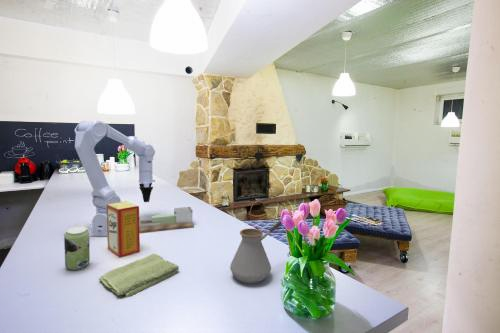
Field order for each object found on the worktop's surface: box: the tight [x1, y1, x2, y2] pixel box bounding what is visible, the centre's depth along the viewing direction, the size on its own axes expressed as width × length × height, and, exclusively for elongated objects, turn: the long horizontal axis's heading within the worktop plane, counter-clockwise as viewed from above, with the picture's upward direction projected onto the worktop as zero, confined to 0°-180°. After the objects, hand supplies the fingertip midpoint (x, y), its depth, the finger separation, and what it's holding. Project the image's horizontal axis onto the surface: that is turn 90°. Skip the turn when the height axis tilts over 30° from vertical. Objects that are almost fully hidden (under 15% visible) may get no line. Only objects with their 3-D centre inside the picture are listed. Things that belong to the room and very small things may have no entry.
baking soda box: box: [107, 200, 141, 259], centre depth 89 cm, size 10×6×16 cm
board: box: [139, 222, 195, 234], centre depth 116 cm, size 22×12×1 cm, turn 113°
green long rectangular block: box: [150, 213, 176, 225], centre depth 116 cm, size 13×3×4 cm, turn 113°
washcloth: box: [98, 253, 180, 298], centre depth 73 cm, size 13×18×3 cm
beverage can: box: [63, 225, 91, 271], centre depth 77 cm, size 6×7×12 cm
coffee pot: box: [229, 220, 283, 285], centre depth 77 cm, size 21×12×15 cm, turn 130°
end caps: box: [139, 206, 194, 228], centre depth 116 cm, size 22×6×6 cm, turn 113°
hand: (146, 200), depth 123 cm, fingers open, 7 cm apart
